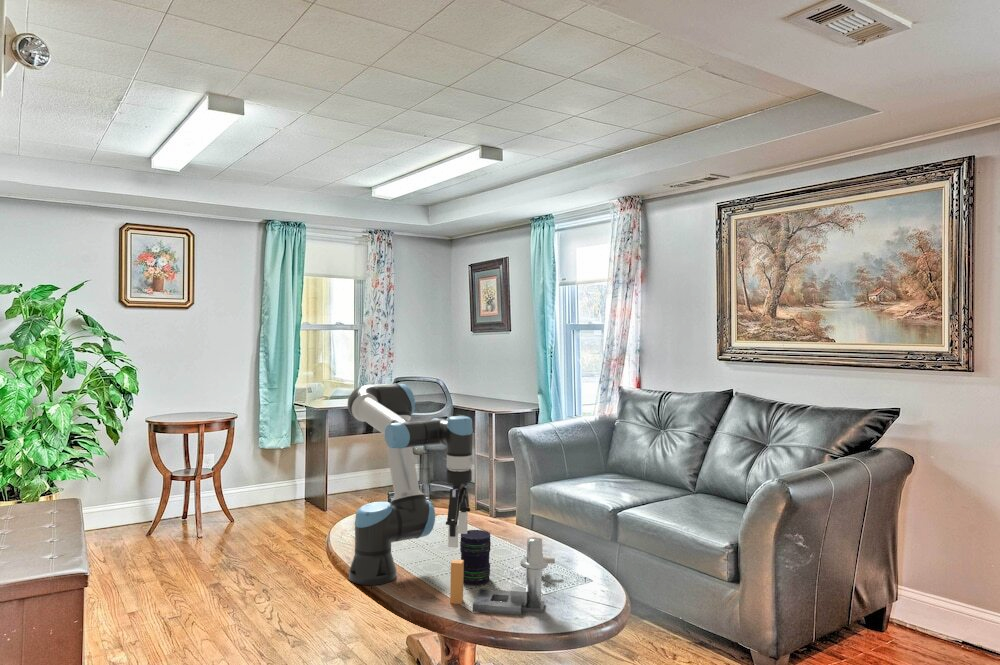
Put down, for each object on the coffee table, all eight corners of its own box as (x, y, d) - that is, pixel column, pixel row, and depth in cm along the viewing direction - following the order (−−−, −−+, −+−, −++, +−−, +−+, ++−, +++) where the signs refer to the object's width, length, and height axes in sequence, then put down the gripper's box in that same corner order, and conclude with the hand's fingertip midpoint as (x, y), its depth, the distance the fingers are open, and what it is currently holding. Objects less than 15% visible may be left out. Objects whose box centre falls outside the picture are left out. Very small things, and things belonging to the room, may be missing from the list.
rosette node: (472, 611, 201) (473, 542, 201) (480, 595, 213) (481, 530, 213) (545, 617, 198) (546, 546, 198) (548, 600, 210) (550, 534, 210)
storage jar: (496, 580, 226) (497, 534, 226) (475, 588, 219) (476, 541, 218) (474, 572, 233) (475, 527, 232) (453, 580, 225) (453, 534, 225)
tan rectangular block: (450, 603, 207) (450, 562, 207) (452, 598, 210) (453, 559, 210) (460, 604, 206) (461, 563, 206) (463, 599, 209) (463, 559, 209)
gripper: (463, 478, 195) (461, 554, 195) (479, 461, 219) (478, 528, 220) (436, 477, 196) (435, 552, 196) (455, 460, 221) (454, 527, 221)
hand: (458, 540), depth 208 cm, fingers open, 13 cm apart
